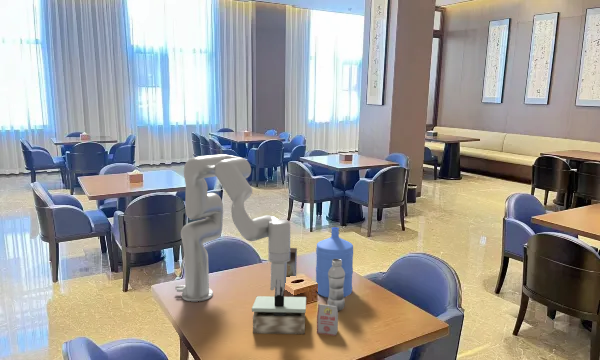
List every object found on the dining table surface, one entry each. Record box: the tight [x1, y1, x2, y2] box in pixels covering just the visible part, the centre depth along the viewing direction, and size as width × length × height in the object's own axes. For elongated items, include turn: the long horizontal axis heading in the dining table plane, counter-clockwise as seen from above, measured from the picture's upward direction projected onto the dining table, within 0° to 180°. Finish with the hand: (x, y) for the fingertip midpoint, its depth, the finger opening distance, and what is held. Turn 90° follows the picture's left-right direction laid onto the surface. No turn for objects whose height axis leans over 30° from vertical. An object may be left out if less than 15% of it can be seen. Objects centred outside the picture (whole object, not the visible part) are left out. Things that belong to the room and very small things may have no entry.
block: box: [274, 312, 286, 316], centre depth 163 cm, size 5×4×4 cm
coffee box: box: [286, 247, 298, 277], centre depth 199 cm, size 9×6×16 cm
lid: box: [251, 295, 307, 314], centre depth 163 cm, size 19×15×1 cm
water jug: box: [315, 226, 354, 299], centre depth 191 cm, size 16×16×28 cm
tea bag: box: [316, 303, 339, 337], centre depth 158 cm, size 4×7×10 cm, turn 74°
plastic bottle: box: [327, 259, 346, 312], centre depth 175 cm, size 6×7×20 cm
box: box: [252, 312, 306, 335], centre depth 164 cm, size 18×14×6 cm
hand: (279, 305), depth 159 cm, fingers closed
